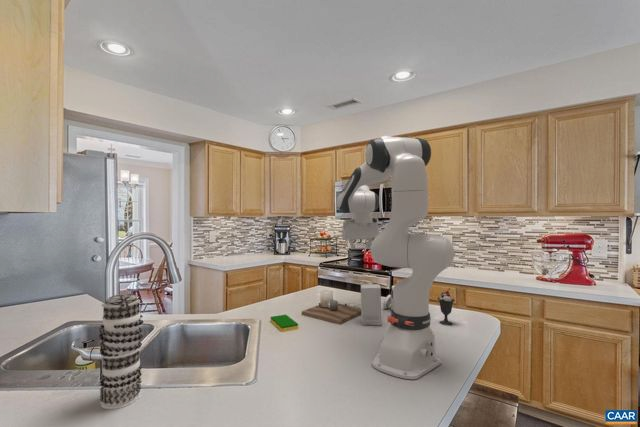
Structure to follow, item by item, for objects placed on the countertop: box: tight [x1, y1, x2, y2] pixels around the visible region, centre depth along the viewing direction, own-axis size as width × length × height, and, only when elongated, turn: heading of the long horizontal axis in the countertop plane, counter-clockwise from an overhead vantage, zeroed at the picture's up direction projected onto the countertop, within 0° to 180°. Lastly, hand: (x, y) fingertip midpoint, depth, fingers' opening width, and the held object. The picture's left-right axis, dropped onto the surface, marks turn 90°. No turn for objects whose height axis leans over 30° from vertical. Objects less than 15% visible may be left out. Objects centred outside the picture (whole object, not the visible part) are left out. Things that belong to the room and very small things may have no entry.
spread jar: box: [382, 285, 394, 312], centre depth 149 cm, size 12×11×12 cm
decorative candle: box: [98, 293, 144, 410], centre depth 78 cm, size 9×9×25 cm
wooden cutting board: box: [301, 302, 361, 325], centre depth 145 cm, size 21×21×2 cm
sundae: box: [437, 287, 456, 326], centre depth 132 cm, size 7×7×15 cm
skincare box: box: [360, 283, 382, 326], centre depth 132 cm, size 8×7×16 cm
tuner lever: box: [319, 289, 339, 310], centre depth 148 cm, size 11×6×6 cm, turn 30°
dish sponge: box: [269, 314, 299, 333], centre depth 130 cm, size 7×14×2 cm, turn 27°
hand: (360, 248), depth 152 cm, fingers open, 8 cm apart
